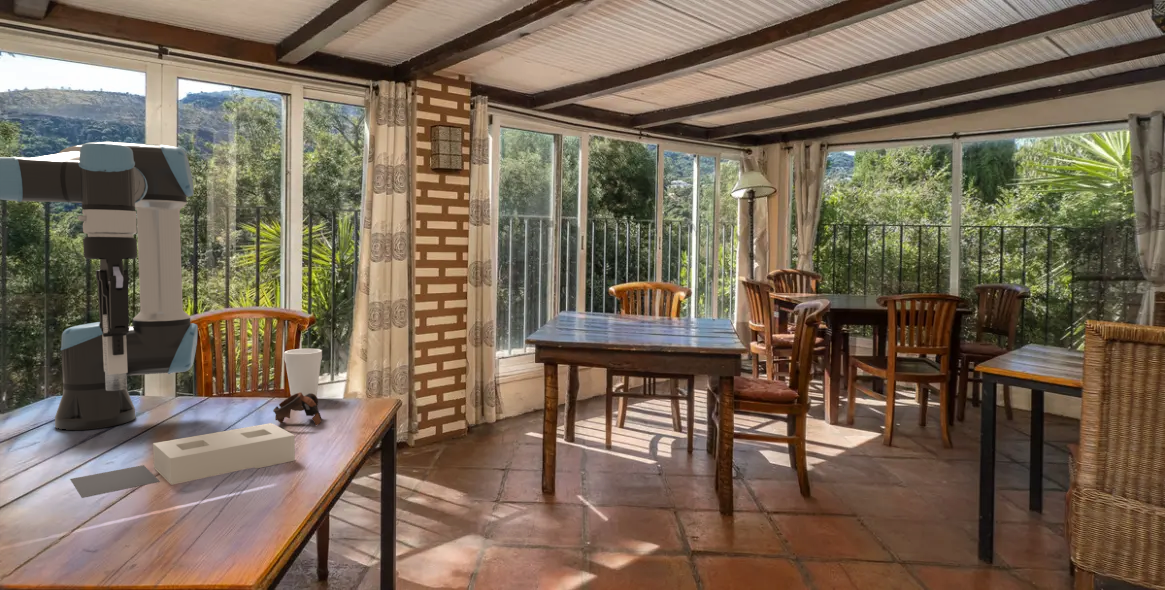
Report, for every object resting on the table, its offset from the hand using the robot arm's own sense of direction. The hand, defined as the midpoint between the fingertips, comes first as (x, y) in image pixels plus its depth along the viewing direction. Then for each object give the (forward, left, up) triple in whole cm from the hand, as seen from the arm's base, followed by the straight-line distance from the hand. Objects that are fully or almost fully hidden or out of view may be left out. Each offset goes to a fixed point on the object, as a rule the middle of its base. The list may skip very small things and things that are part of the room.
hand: (115, 371), depth 116 cm
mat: (0, -1, -20) cm, 20 cm away
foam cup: (-42, +49, -20) cm, 68 cm away
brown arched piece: (-18, +39, -20) cm, 47 cm away
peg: (0, 0, -3) cm, 3 cm away
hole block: (+3, +16, -20) cm, 26 cm away
